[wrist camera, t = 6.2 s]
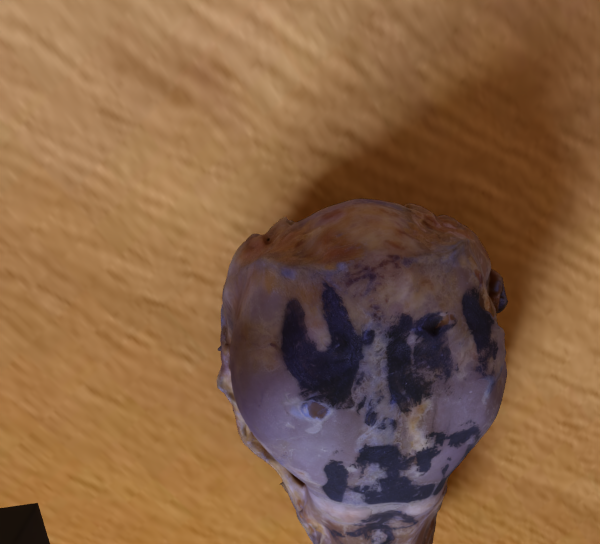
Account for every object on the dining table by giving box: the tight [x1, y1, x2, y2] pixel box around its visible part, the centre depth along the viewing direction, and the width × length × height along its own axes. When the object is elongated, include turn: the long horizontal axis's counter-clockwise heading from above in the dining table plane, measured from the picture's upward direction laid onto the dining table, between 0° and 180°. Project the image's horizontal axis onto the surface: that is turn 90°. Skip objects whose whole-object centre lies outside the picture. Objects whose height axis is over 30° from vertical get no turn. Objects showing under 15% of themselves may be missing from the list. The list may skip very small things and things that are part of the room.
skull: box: [217, 199, 508, 544], centre depth 14 cm, size 12×8×6 cm, turn 177°
